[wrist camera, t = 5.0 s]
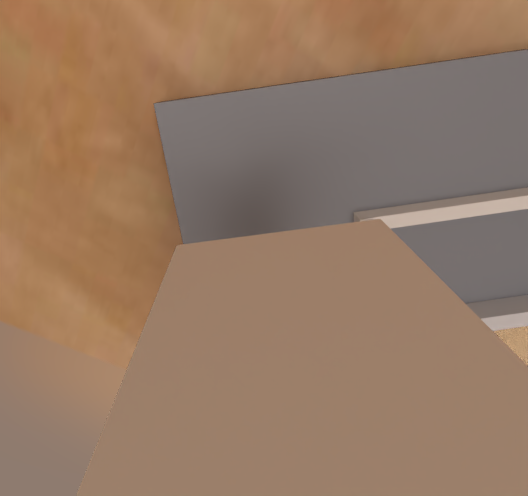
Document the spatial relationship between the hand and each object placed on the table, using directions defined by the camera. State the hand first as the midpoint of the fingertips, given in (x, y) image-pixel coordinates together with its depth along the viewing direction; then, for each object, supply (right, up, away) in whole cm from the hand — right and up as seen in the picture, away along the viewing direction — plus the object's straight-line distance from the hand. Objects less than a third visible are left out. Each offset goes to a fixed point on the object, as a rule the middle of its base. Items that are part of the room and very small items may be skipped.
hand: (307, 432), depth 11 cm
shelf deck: (+5, +7, +18) cm, 20 cm away
